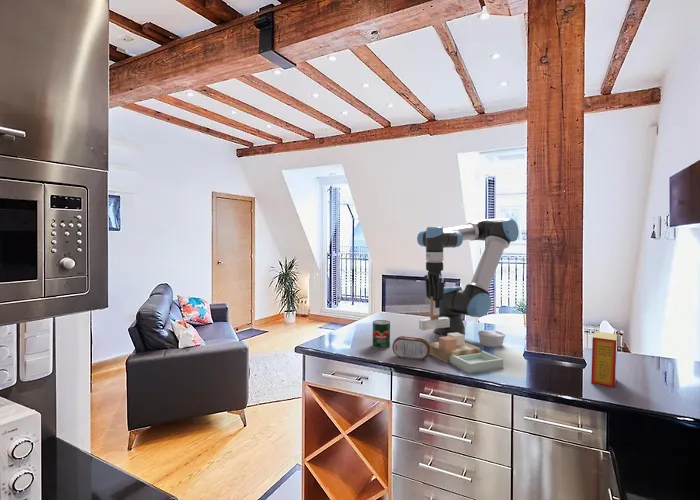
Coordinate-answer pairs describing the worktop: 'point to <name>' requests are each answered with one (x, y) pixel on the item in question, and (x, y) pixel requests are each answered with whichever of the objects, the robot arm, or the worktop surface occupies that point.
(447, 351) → the tan flat block
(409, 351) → the tin
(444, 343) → the terracotta block
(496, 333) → the ramekin
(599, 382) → the baking soda box
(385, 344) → the canned tomato
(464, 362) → the box
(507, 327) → the worktop surface
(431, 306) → the scraper
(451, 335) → the cream block
